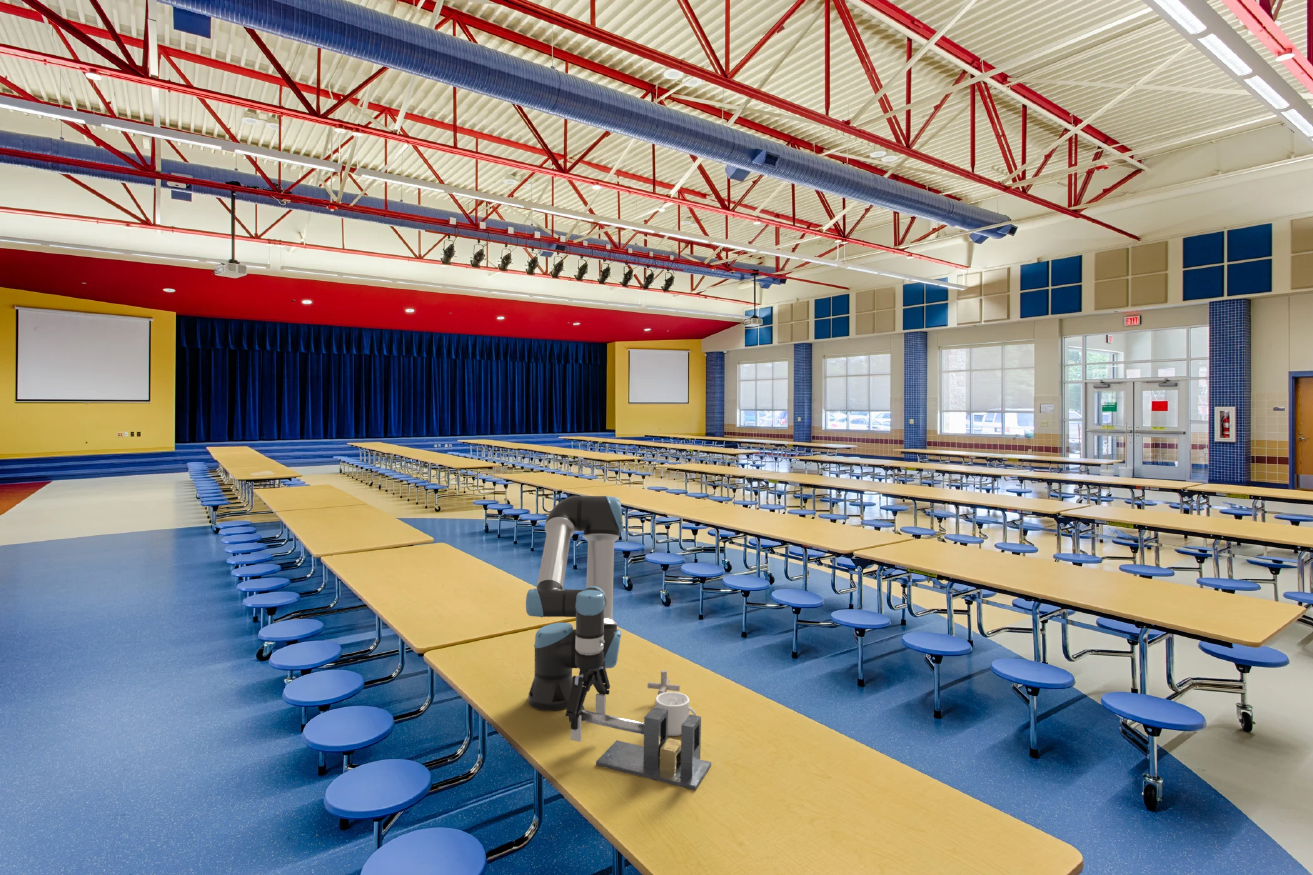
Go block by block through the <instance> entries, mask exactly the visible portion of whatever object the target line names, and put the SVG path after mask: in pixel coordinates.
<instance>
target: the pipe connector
mask: <svg viewBox="0 0 1313 875" xmlns="http://www.w3.org/2000/svg"><path fill="white" fill-rule="evenodd" d="M667 675H668V671H667V670H666V669H662V670H660V682H652V681H648V682H647V685H646V687H647V689H651V690H652V689H654V690H658V691H657V696H658V695H659V694H661V693H665V692H668V691H670V692H680V688H681V685H680V684H672V683H670V679H669V677H668V676H667Z"/></svg>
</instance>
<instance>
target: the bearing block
mask: <svg viewBox="0 0 1313 875" xmlns="http://www.w3.org/2000/svg"><path fill="white" fill-rule="evenodd" d="M643 718H644V719H643V723H644V735H643V746H642V745H638V744H634V743H630V742H626V741H623V740H615V742H613V743H612V745H610V746H609V747H608V749H607V750H606V751H604V753H603V754H602V755H601V756H599V758H598V759H597V760H595V766H597V767H602V768H606V769H609V770H612V771H618V772H620V773H621V772H622V773H624V774H629V775H633V776H638V777H641V778H645V779H650V780H653V781H658V782H660V783H665V784H670V785H674V786H677V787H680V788H685V789H688V790H694V791H696V790H697V789H698V787H699V786H700V785H701V782H702V781H703V780H704V778H705V776H706V775H707V773H708V771H709V770H710V768H711V767H712V761H708V760H704V759H701V746H702V745H701V742H702V740H701V737H702V716H700V715H696V716H695V715H693V714H692V713H691V714H690V713H689V716H688V717H687V719H686V720H685V721H684V722H683V724H682V725H681V735H680V741H681V764H679V763H676V773H675V774H674V773H670V772H666V771H662V770H660V748H661V747H662V746H663V744H664V743H665V742H666V741H667V740H668V738H669V736H668V710H666V709H661V708H656V707H652V708H651V710H649V711H648V713H647V714H645V716H644V717H643Z"/></svg>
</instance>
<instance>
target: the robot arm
mask: <svg viewBox="0 0 1313 875" xmlns="http://www.w3.org/2000/svg"><path fill="white" fill-rule="evenodd" d="M544 532H545V533H546V535H545V540H544V547H543V551H542V556H541V557H542V558H541V560H540V561H541V562H540V567H539V574H538V578H537V584H536V587H535V588H530V589H528V591H527V592H526V597H525V611H526V614H527V616H529V617H536V618H537V617H538V618H544V617H545V618H555V617H556V618H557V617H558V618H561V617H562V618H564V617H565V618H575V629H574V626H573V624H572V623H570V622H556V623H555V622H554V623H550V624H547V625H544V626H542V627H540V628H539V629H538V630H537V631H536V633H535V636H534V645H533V646H534V677H533V680H532V682H531V686H530V688H529V691H528V704H529V705H530V707H532V708H534V709H536V710H541V711H548V712H549V711H550V712H551V711H559V710H560V711H561V710H564V709H566V712H565V717H568V718H569V717H571V723H570V740H571V741H575V742H578V743H580V742H582V722H581V716H580V712H581V709H582V706H584V703H585V700H586V697H587V693H588V692H589V691H590V689H591V687H592V686H593V687H594V688H595V690H596V692H597V693H596V694H595V712H596V713H601V714H605V715H606V707H607V706H606V701H607V700H606V696H607V695H610V688H611V685H610V681H609V676H608V672H607V669H612V668H615V667H616V666H617V663H618V659H619V658H618V657H619V651H620V645H621V637H622V630H621V629H620V628H618V623H617V622H616V621H615V620H614V618H613V612H614V610H613V608H614V607H613V605H614V568H615V543H616V541H617V540H618V539H619V538H620V533H622V532H624V523H623V511H622V503H621V500H620V499H619V498H618V496H608V495H573V496H569V497H566V498H565V499H563V500H561V501H559V502H558V503H557V504H556V505H555V506H554V507H552V509H551V510H550V512H549V513H548V515H547V517H546V519H545V524H544ZM575 532H583V538H584V540H586V542H587V557H586V558H587V563H586V565H587V566H586V587H585V589H564V587H565V586H564V585H565V578H566V572H567V564H568V556H569V550H570V544H571V538H572V537H573V535H574V534H575ZM573 669H579V673H578V675H573Z"/></svg>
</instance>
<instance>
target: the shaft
mask: <svg viewBox="0 0 1313 875" xmlns="http://www.w3.org/2000/svg"><path fill="white" fill-rule="evenodd" d="M580 716H581V723H582V722H584V723H587V724H593V725H598V726H603V727H606V728H612V729H616V730H620V731H625V732H629V733H633V734H639V735H643V736H644V721H643V722H641V721H638V720H633V719H628V718H623V717H619V716H615V715H611V714H610V715H609V714H606V713H605V714H601V713H596V711H590V710H586V709H585V706H584V705H583V706H582V709H581V712H580ZM568 720H569V724H571V717H568Z"/></svg>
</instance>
